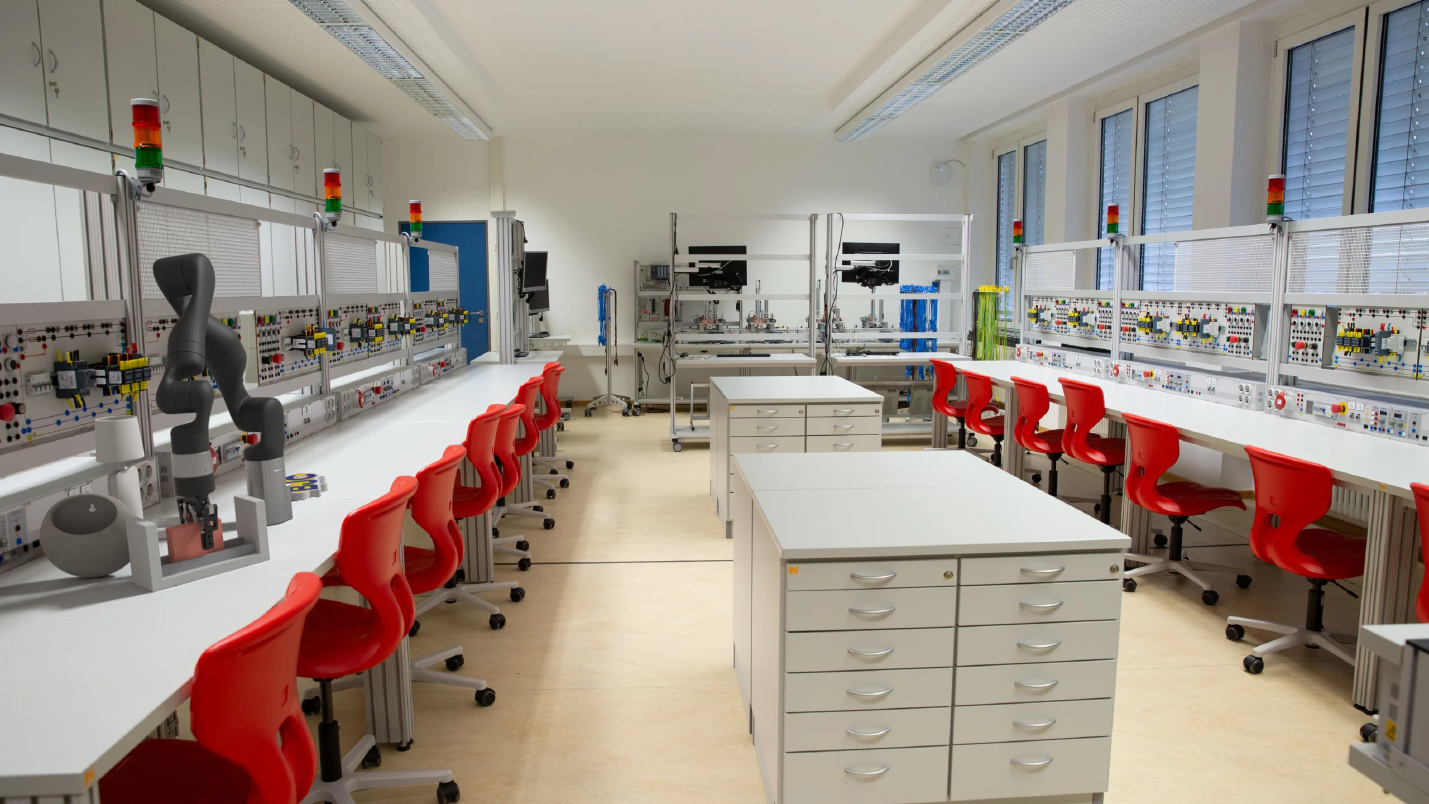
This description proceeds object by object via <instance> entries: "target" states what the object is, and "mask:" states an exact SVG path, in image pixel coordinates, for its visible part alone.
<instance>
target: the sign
mask: <svg viewBox="0 0 1429 804" xmlns="http://www.w3.org/2000/svg"><path fill="white" fill-rule="evenodd" d="M286 483H289V484H290V491H291V501H294V500H302V501H306V500H305V499H307V498H309V499H312V498H311V497H316V498H321V497H322V493H325V492H324V491H326V492H328V491H329V490H328V489H329V488H328V481H327V476H326V475H319V474H318V473H315V472H295V473H292V474H290V475H286ZM320 496H321V497H320ZM307 500H308V499H307Z"/></svg>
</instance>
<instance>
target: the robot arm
mask: <svg viewBox="0 0 1429 804" xmlns="http://www.w3.org/2000/svg"><path fill="white" fill-rule="evenodd" d="M152 274H153V277H154V280H155V282H156V285H157V286H158V288H159V290H160V292H161V293H162V295H163V296H164V298H165V299H166V301H167V302H168V304H169V305H170V306H171V308H172V309H173V311H174V312H175V314H176V315H177V316H178V319H177V321H176V322H175V323H174V325H173V327H172V328H171V331H170V332H169V335H168V338H167V348H166V349H167V351H166V352H167V353H166V354H167V355H166V366H165V369H164V373H163V375H162V378H161V379H160V382H159V384H158V386H157V390H156V393H155V404H156V406H157V408H158V410H159V411H160V412H162V413H163V414H165V415H183V414H195V417H194V419H193V420H191V421H189V422H186V423H181V424H178V425H175V426H173V427H172V428H171V429H170V431H169V432H170V433H169V435H170V436H169V437H170V446H171V455H172V457H171V468H172V476H173V486H174V494H175V496H177V498H176V504H177V505H176V506H177V511H178V515H179V516H178V517H180V522H181V524H186V523H190V522H195V524H196V525H198V527H199V530H200V533H201V534H200V535H201V544H202V549H203V550H209V549H212V548H214V540H213V531H215V530H218V518H219V513H218V512H219V511H218V509H219V508H218V504H217V503H214V504H211V501H210V498H209V495H210V494H212V493H214V492H215V490H216V482H215V480H216V479H215V474H214V460H213V456H212V453H211V447H210V445H211V443H210V433H209V429H210V417H211V413H212V409H213V405H214V401H215V389H214V387H213V386H212V384H211V383H210V382H208V381H207V380H204V379H194V380H186V379H188V378H189V379H190V378H192V377H197V376H199V375H201V374H202V373H203V372H204V370H205V368H206V367H207V370H208V371H209V373H210V375H211V377H212V378H213V380H214V382H215V384H216V386H217V388H218V389H219V391H220V393H221V394H220V395H221V396H222V399H223V401H224V403H225V406H226V408H227V411H228V413H229V416H230V418H231V421H232V422H233V424H234V425H235V427H236V429H238V430H239V431H241V432H243V433H260V437H259V438H260V440H259V441H258V442H257V443H255V444H252V445H249V446H247V447H246V448H244V450H243V459H244V471H245V480H246V481H245V482H246V489H247V491H246V492H247V496H251V497H255V498H258V499H262V500H265V511H266V522H267V526H271V525H277V524H281V523H282V524H283V523H285V522H287V521H288V520H290V519H291V520H292V519H294V516H293V504H292V500H291V491H290V484H289V483H286V476H287V475H286V465H285V447H286V446H285V445H286V436H285V435H286V434H285V431H286V430H285V412H284V407H283V405H282V402H281V401H280V400H279V398H276V397H270V396H269V397H268V396H261V397H260V396H251V395H250V393H248V391H247V389H246V387H245V385H244V382H243V377H244V374H245V370H246V368H247V361H248V357H247V353H246V350H245V347H244V345H243V344H242V342H241V340H240V338H239V336H238V334H237V333H236V331H235V330H234V329H233V328H232V327H230V325H228V324H226V323H225V322H224V321H222V320H220V319H219V318H217V317H216V316H214V315H212V314H211V308H212V303H213V300H214V299H213V298H214V294H215V287H216V272H215V268H214V266H213V264H212V262H211V260H210V259H209V257H207V255H205V254H204V253H200V252H192V253H184V254H177V255H172V256H171V255H170V256H165V257H161V258H157V259H156V260H155V261H154V262H153V265H152ZM205 366H206V367H205ZM200 518H203V519H200ZM212 521H213V523H212Z"/></svg>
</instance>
